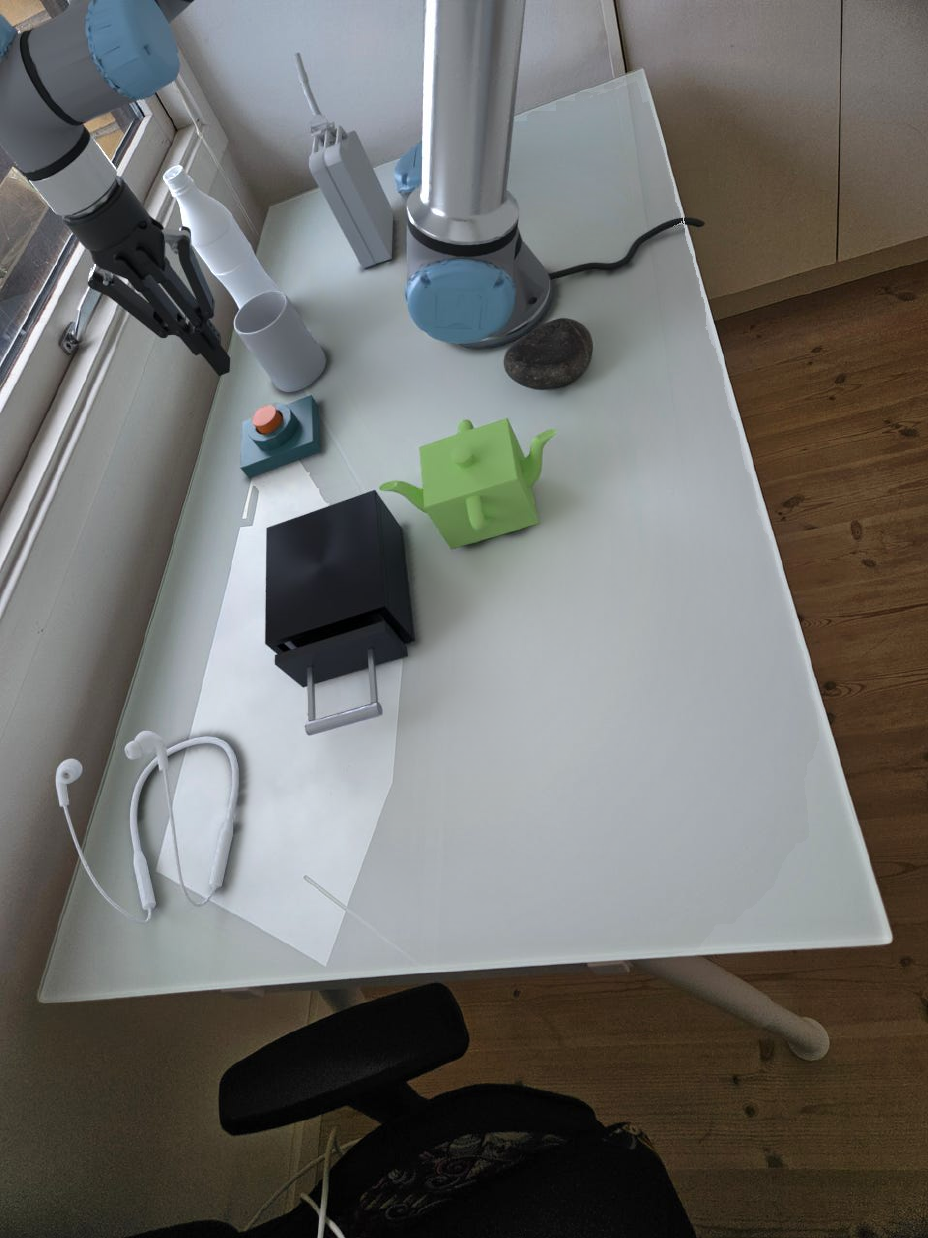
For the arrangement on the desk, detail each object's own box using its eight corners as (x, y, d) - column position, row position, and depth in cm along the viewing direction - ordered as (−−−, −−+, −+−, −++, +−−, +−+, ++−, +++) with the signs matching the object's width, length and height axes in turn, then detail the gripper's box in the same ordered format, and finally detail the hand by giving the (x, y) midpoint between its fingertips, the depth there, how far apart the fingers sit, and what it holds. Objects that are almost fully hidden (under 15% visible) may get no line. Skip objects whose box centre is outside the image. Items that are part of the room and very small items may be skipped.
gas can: (365, 212, 134) (287, 54, 113) (393, 202, 132) (318, 39, 112) (362, 271, 126) (277, 112, 106) (391, 260, 124) (311, 97, 104)
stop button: (282, 410, 110) (275, 401, 108) (282, 429, 108) (275, 420, 106) (259, 419, 111) (252, 410, 109) (258, 438, 109) (251, 429, 107)
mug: (323, 384, 115) (283, 325, 106) (271, 398, 118) (227, 341, 109) (332, 326, 121) (295, 265, 112) (282, 341, 124) (242, 282, 115)
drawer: (414, 721, 82) (390, 698, 77) (304, 752, 85) (274, 731, 80) (397, 548, 94) (375, 519, 89) (301, 580, 97) (275, 553, 92)
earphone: (100, 948, 78) (23, 778, 77) (183, 869, 95) (120, 728, 93) (222, 909, 76) (145, 733, 74) (285, 835, 92) (224, 689, 90)
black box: (415, 641, 88) (385, 605, 82) (302, 675, 91) (264, 644, 85) (403, 529, 97) (375, 489, 90) (300, 563, 100) (266, 527, 93)
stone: (515, 344, 105) (504, 314, 101) (597, 327, 102) (588, 295, 98) (510, 410, 100) (498, 381, 96) (596, 393, 96) (587, 363, 92)
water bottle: (299, 301, 128) (204, 151, 107) (282, 334, 125) (180, 186, 105) (264, 304, 131) (164, 158, 111) (246, 336, 128) (140, 193, 108)
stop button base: (319, 405, 113) (305, 385, 110) (321, 451, 108) (306, 431, 105) (250, 431, 116) (234, 412, 113) (249, 478, 111) (232, 459, 108)
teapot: (578, 485, 91) (555, 421, 82) (515, 580, 87) (483, 523, 79) (473, 451, 99) (441, 389, 90) (411, 537, 96) (372, 481, 87)
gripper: (147, 149, 82) (271, 328, 101) (42, 200, 85) (181, 365, 104) (141, 189, 78) (270, 368, 97) (30, 241, 81) (177, 405, 100)
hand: (224, 366), depth 101 cm, fingers closed
